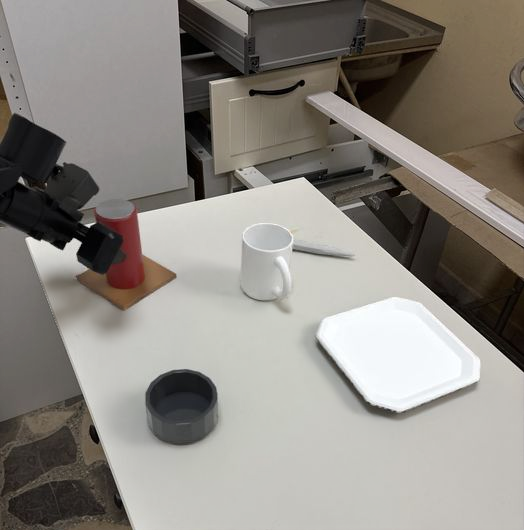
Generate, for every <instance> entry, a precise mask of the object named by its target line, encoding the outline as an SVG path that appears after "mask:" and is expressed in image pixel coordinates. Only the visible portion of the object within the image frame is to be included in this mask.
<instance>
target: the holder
mask: <svg viewBox="0 0 524 530" xmlns="http://www.w3.org/2000/svg"><path fill="white" fill-rule="evenodd" d="M218 398H219V397H218V390H217V386H216V385H215V383H214V382H213V381H212V379H211V378H210V377H209V376H207V375H206V374H204V373H202V372H201V371H198V370H193V369H188V368H181V369H172V370H170V371H166V372H163V373H160V374H159V375H158V376H157V377H156V378H155V379H153V380H152V381H151V382H150V383H149V385H148V387H147V389H146V391H145V394H144V404H145V410H146V411H145V413H146V418H147V424H148V425H149V428H150V430H151V432H152V434H154V435H155V437H157V438H158V439H159V440H161V441H162V442H165V443H167V444H171V445H176V446H187V445H192V444H196V443H198V442H200V441H202V440H204V439H205V438H207V436H209V435H210V434H211V432H212V431H213V430H214V429H215V427H216V424H217V421H218V415H219V413H218V412H219V410H218V409H219V405H218V404H219V399H218Z"/></svg>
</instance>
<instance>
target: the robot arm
mask: <svg viewBox="0 0 524 530" xmlns="http://www.w3.org/2000/svg"><path fill="white" fill-rule="evenodd" d="M66 145H67V141H66V140H65V139H63V138H62V137H60V136H59V135H58V134H56V133H54V132H53V131H50V130H48V129H47V128H44V127H42V126H40V125H38V124H36V123H35V122H32V121H31V120H29V118H26V117H25V116H23V115H21V114H18V113H17V112H14V113H13V114H12V115H11V117H10V119H9V122H8V125H7V129H6V131H5V133H4V135H3V138H2V140H1V142H0V224H3V225H5V226H7V227H10V228H12V229H14V230H17V231H18V232H22V233H24V234H26V235H27V236H29V237H30V238H32V239H33V240H35V241H38V242H41V241H44V242H45V243H49V245H51V246H53V247H54V248H56V249H58V250H60V251H64V250H65V247H66V246H67V244H69V243H71V242H72V241H73V240H74V239H75V240H76V241H78V242H80V246H79V248H78V249H77V251H76V253H75V255H76V260H77V263H79V264H81V265H82V266H84V267H85V268H87V269H90V270H92V271H94V272H96V273H99V274H101V275H103V274H106V273H107V272H108V270H109V268H110V266H111V265H114V264H117V263H121V262H124V261H125V260H126V258H127V255H126V254H125V253H124V252H123V251H122V250H121V249H120V246H121V245H122V243H123V236H122V235H120V234H119V233H117V232H115V231H113V230H112V229H110V228H108V227H106V226H104V225H103V224H101V223H99V222H97V223H96V222H95V223H93V224H91V225H90V226H87V225H85V224H84V223H82V220H83V217H84V216H85V213H84V212H82V211H80V210H81V209H83V208H84V207H85V206H86V205H87V204H88V203H89V202H90V200H91V199H93V198H94V196H97V195H98V193H99V192H100V187H99V185H98V184H97V182H96V181H95V179H94V178H93V176H92V175H91V174H90V172H89V171H88V170H86V169H85V168H83V167H82V166H79V165H77V164H75V163H72V162H70V163H67V162H65V161H64V162H62V165H60V164H59V163H57V162H58V161H59V158H60V156H61V155H62V152H63V151H64V148H65V147H66ZM20 178H22V179H24V180H25V181H28V182H30V183H31V184H33V185H34V186H33V187H30V186H28V185H26V184H25V183H22V182H21V181H19V180H20ZM38 182H40V184H43V185H45V187H46V188H44V189H41V188H39V186H38V187H37V186H36V185H37V183H38Z"/></svg>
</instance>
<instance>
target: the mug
mask: <svg viewBox="0 0 524 530" xmlns="http://www.w3.org/2000/svg"><path fill="white" fill-rule="evenodd" d="M293 239H294V235H293V233H292V232H291V231H290V230H289V229H288V228H286V227H284V226H282V225H280V224H277V223H271V222H260V223H254V224H251V225H249V226H248V227H246V228H245V229H244V230H243V232H242V234H241V255H240V256H241V257H240V259H241V260H240V287H241V289H242V291H243V292H244V293H245V295H246V296H248V297H250V298H251V299H254V300H258V301H273V300H276V299H280V300H285V299H287V298H288V297H289V296H290V294H291V291H292V282H293V281H292V274H291V263H292V255H293V249H292V247H293Z"/></svg>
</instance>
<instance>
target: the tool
mask: <svg viewBox="0 0 524 530" xmlns="http://www.w3.org/2000/svg"><path fill="white" fill-rule="evenodd" d="M292 250H296V251H301V252H302V251H303V252H307V253H313V254H318V255H325V256H336V257H337V256H338V257H350V258H352V257H355V256H356V255H355V254H354V252H351V251H347V250H343V249H340V248H336V247H333V246H330V245H327V244H321V243H317V242H311V241H306V240H300V239H295V238H293V247H292Z"/></svg>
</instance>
